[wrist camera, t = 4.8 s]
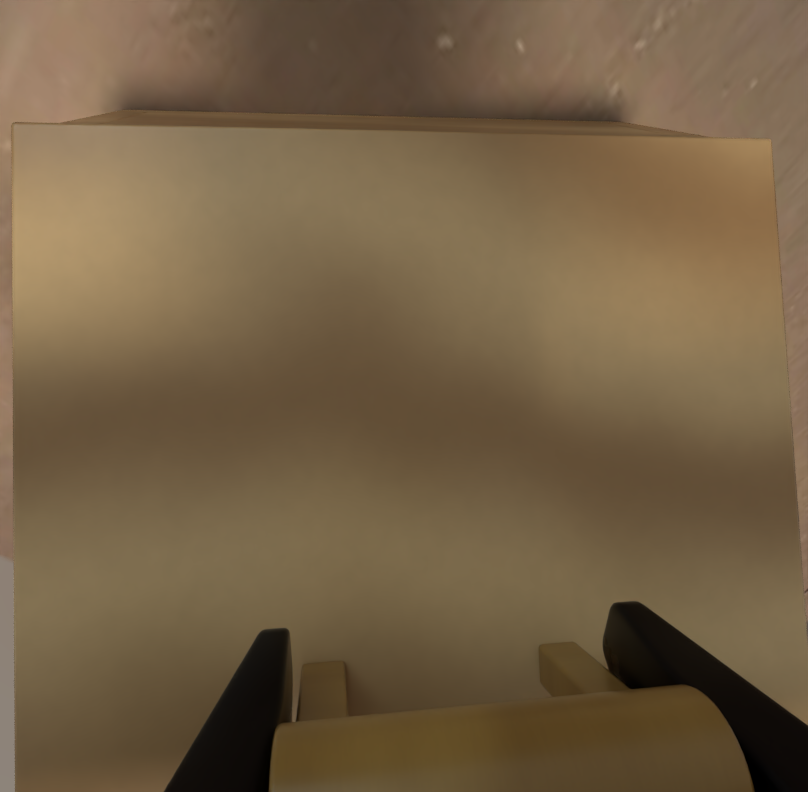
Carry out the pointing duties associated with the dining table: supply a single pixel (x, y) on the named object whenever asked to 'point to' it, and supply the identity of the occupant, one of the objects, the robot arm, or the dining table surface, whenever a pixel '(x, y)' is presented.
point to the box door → (396, 451)
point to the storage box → (373, 123)
